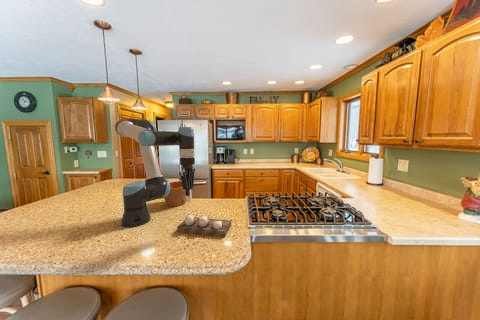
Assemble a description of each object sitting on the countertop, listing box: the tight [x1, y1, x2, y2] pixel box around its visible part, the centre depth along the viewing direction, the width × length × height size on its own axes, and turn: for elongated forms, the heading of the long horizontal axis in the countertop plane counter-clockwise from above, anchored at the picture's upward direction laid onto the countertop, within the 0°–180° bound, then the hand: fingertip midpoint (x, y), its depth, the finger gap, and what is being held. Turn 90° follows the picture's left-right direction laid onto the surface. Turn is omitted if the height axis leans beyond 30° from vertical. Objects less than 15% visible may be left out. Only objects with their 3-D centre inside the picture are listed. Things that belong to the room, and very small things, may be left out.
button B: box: [198, 215, 208, 227], centre depth 100 cm, size 4×4×4 cm
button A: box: [184, 214, 195, 226], centre depth 102 cm, size 4×4×4 cm
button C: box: [213, 221, 222, 230], centre depth 99 cm, size 4×4×4 cm
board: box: [176, 216, 232, 238], centre depth 103 cm, size 26×13×3 cm, turn 78°
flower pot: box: [163, 180, 187, 207], centre depth 144 cm, size 21×21×15 cm
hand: (188, 201), depth 101 cm, fingers closed
